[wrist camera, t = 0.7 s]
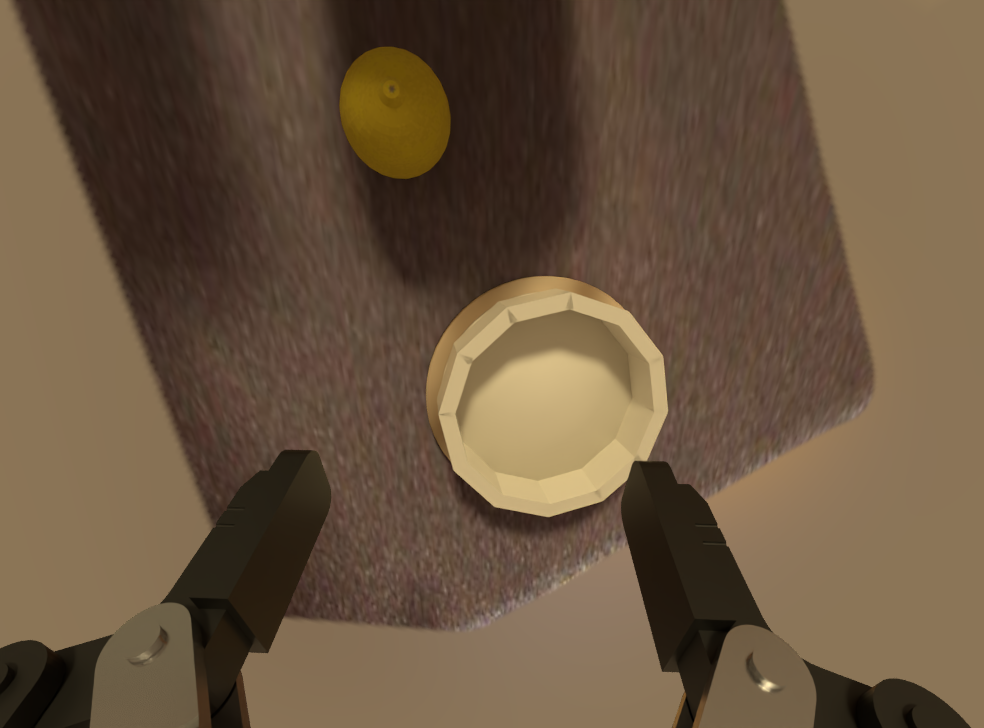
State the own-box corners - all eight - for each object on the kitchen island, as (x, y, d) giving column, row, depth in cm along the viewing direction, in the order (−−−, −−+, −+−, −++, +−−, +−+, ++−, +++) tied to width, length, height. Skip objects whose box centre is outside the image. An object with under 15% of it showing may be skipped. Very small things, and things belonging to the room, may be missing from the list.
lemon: (421, 206, 26) (420, 185, 18) (338, 157, 24) (299, 111, 17) (462, 124, 25) (479, 66, 17) (378, 68, 23) (357, -23, 16)
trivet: (399, 466, 30) (398, 472, 29) (465, 242, 27) (466, 242, 26) (597, 506, 34) (601, 512, 33) (677, 315, 31) (683, 317, 30)
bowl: (415, 462, 29) (414, 491, 26) (476, 262, 26) (485, 263, 23) (595, 499, 33) (616, 529, 29) (667, 326, 30) (701, 335, 26)
